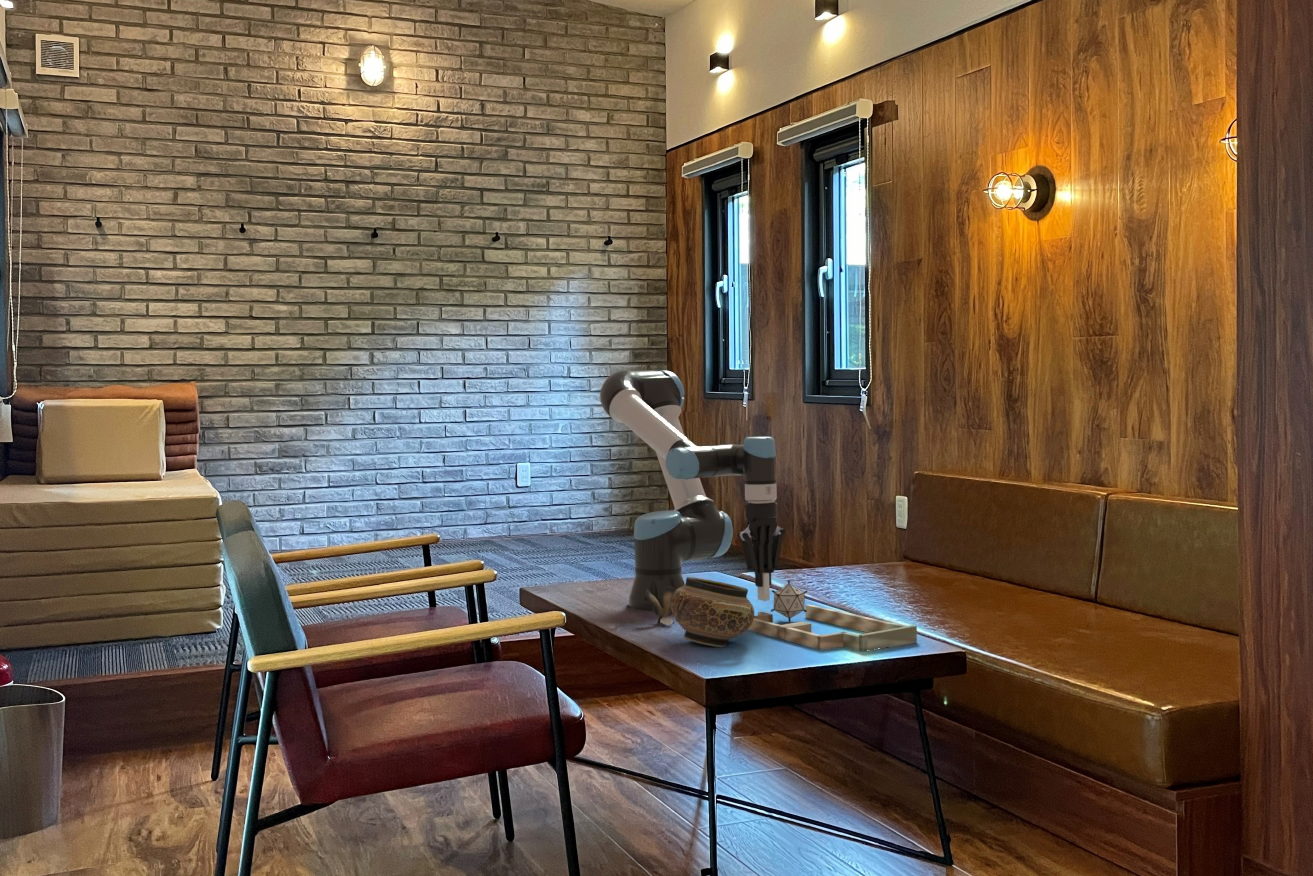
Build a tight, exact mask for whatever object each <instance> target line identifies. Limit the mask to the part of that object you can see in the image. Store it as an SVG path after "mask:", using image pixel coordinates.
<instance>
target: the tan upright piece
mask: <svg viewBox="0 0 1313 876" xmlns="http://www.w3.org/2000/svg"><path fill="white" fill-rule="evenodd" d="M675 591H676V590H675V589H674V588H672V587H669V586H668V587H666V589H664V594H663V606H662V608H661V606H660V604H659V602H658V601H657V599H656V598H655V597H654V596H653V595H652V594H651V592H650V591H648V589H647V591H646V592H647V593H646V594H647V598H648V600H649V602H650V603H651V605H652V606H653V608H654V609H653V610H654V611H653V613H654V614H655V615H656V616H658V618H657V622H656V624H658V625H664V626H672V625H673V624H675V622H674V620H673V619H671V618H670V616H673V613H672V610H671V597H672V595H673V593H674V592H675Z"/></svg>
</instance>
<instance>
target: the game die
mask: <svg viewBox="0 0 1313 876" xmlns="http://www.w3.org/2000/svg"><path fill="white" fill-rule="evenodd" d="M808 591H809V590H804V591H803V590H802V589H800V588H797V587H796V586H794V585H793V584H791V581H790V579H788V581H787V584H785V585H784V586H782V587H780V588H778V589H777V590H774V589H772V590H771V593H773V594H774V595H773V608H771V610H770V612H771V613H772V612H774V611H775V612H777V613H779V614H780V615H782V616H783V617H785V618H787V619H788V622H789V623H790V622H792V621H791V619H792V618H793V617H795V616H797V615H799V614H800V613H802V612H804V613H805V612H807V611H806V610H805V600H806V599H805V595H806V593H808Z"/></svg>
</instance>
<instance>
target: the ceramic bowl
mask: <svg viewBox="0 0 1313 876" xmlns="http://www.w3.org/2000/svg"><path fill="white" fill-rule="evenodd" d="M748 593H749V589H748V588H746V587H742V586H738V585H734V584H730V583H726V582H721V581H715V580H712V579H704V578H701V577H700V578H699V577H691V576H688V577H686V578H685V585H684V586H682V587H680V588H678V589H677V590H676V591H675V592H674V593H673V595H672V597H671V610H672V613H673V615H672V616H673V618H674V619H675V621H676V622H677V624H678V625H679V626H680V627H681V628H682V629H683V630H684V631H685V632H684V636H683V637H684V639H686V640H689V641H691V642H694V643H697V644H699V645H700V644H701V645H706V646H710V647H716V648H724V647H727V646H729V643H728V642H729V641H730V640H733V639H734V638H738V637H739V636H741V635H743V634H744V633H745V632H746V631H747V629H748V628H749V627H750V625H751V624H752V622H753V619H754V616H755V609H754V606H753V604H752V602H751V601H750V600H749V599H748V596H747V595H748Z"/></svg>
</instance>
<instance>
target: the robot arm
mask: <svg viewBox="0 0 1313 876" xmlns="http://www.w3.org/2000/svg"><path fill="white" fill-rule="evenodd" d="M599 394H600V395H599V399H600V404H601V407H602V408H603V410H604V412H605V413H606V414H607V415H608V416H609V417H610V418H611V419H612V420H613V421H614V422H617V423H619V424H620V423H621V424H622V423H623V424H624V425H625V426H626V427H627V428H628V429H630V430H631V431H632V432H633V433H634V434H635V435H636V436H637V437H638V438H640V439H641V440H642V441H644V442H645V444H647V445H648V446H649V447H650V448H651V449H653V450H654V451H655V454H656V456H657V459H658V462H659V465H660V468H661V472H662V475H663V478H664V480H665V483H666V486H667V488H668V491H669V495H670V498H671V501H672V503H673V507H674V509H670V510H658V511H657V510H655V511H652V512H651V511H650V512H648V513H644V514H642V515H639V516H638V517H637V518H636V519H635V521H634V527H633V538H634V541H633V542H634V543H633V544H634V579H633V582H632V586H631V589H630V593H629V596H628V607H629V606H630V607H629V608H631V609H633V608H634V610H637V611H638V610H639V611H645V612H646V611H648V612H654V610H653V609H654V608H653V606H652V605H651V603H650V602H649V600H648V598H647V594H646V593H647V592H646V591H647V589H648V591H650V592H651V594H652V595H653V596H654V597H655V598H656V599H657V601H658V602H659V604H660V606H661V608H662V606H663V594H664V589H666V587H668V586H669V587H672V588H674V589H675V590H677V589H678V588H680V587H682V586H684V585H685V584H686V582H685V581H684V578H683V574H682V573H683V572H682V571H683V569H682V568H683V567H682V563H683V562H688V561H689V562H690V561H696V560H698V561H699V560H705V559H706V560H710V559H711V560H712V558H717V557H721V556H723V555H725V553H727V552H728V550H729V548H730V547H731V544H732V540H733V534H734V529H733V523H732V519H731V518H730V516H729V515H728V513H726V512H725V511H722V510H718V508H717V506H716V504H715V501H714V500H713V499H711V498H710V497H707V495H706V493H705V489H704V487H703V485H702V481H701V478H702V479H703V478H715V477H726V476H728V477H729V476H742V477H743V476H744V500H745V501H747V502H746V503H745V517H746V523H745V524H746V525H745V529H744V530H743V531H739V532H738V533H737V536H738V539H739V540H740V541H741V545H742V550H743V554H744V557H745V558H744V559H745V563H746V567H747V570H748V571H749V572H752V573H754V580H755V582H754V584H755V586H756V587H757V600H758V601H763V602H767V601H771V600H770V599H771V598H770V594H771V592H770V586H772V574H773V573H775V570H777V569H778V568H779V562H780V557H781V551H782V546H783V539H784V536H785V534H786V532H787V529H786V528H781V526H779V524H778V522H777V519H776V518H777V517H778V503H777V502H776V500H777V499H778V498H777V497H778V496H777V495H778V494H777V490H778V489H777V462H776V461H777V452H776V441H775V439H774V437H773V436H747V437H745V438H744V440H743V444H732V443H722V444H719V445H718V444H717V445H701V446H700V445H699V446H698V445H696V444H695V443H694V442H692V441H691V439H689V438H688V437H687V436H685V434H684V431H683V427H682V425H681V422H680V419H679V417H680V415H681V413H682V407H683V405H684V402H685V397H684V395H685V389H684V386H683V384H682V381H681V380H680V378H679V376H677V375H676V374H675V373H674V372H672V371H671V370H670V371H669V370H666V369H665V370H664V369H663V370H662V369H659V368H657V369H651V370H649V369H648V370H647V369H646V370H642V369H641V370H629V369H627V370H619V371H617V372H614V373H612V374H610V375H609V376H608V377H607V378H606V379H605V380H604V382H603V383H602V386H601V388H600V393H599Z"/></svg>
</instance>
